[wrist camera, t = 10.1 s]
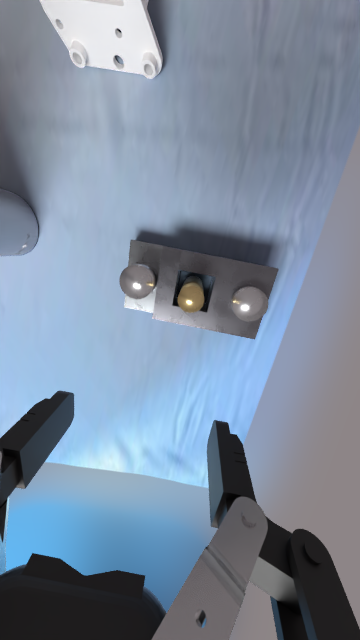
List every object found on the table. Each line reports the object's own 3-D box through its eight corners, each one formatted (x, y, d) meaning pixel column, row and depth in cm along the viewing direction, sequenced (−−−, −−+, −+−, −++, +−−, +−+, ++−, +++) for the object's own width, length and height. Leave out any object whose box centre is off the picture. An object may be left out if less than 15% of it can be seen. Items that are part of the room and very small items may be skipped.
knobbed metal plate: (129, 303, 35) (114, 314, 29) (135, 240, 31) (120, 238, 25) (247, 326, 34) (257, 343, 28) (266, 265, 31) (283, 269, 25)
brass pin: (185, 274, 32) (180, 284, 23) (204, 278, 32) (206, 289, 23) (182, 293, 33) (175, 310, 24) (200, 296, 33) (201, 315, 24)
